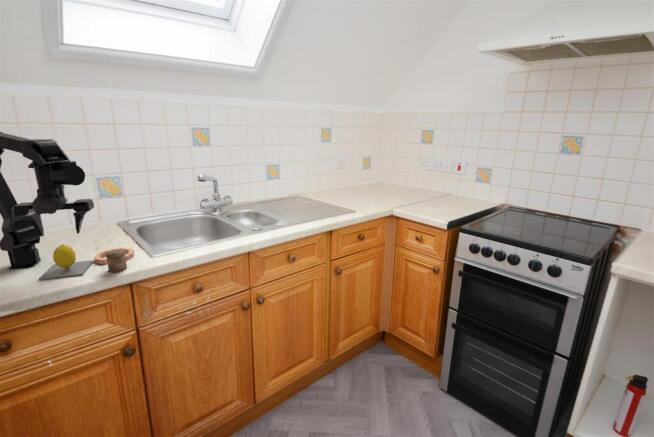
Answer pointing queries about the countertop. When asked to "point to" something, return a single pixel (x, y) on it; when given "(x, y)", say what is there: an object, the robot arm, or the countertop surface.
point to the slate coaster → (66, 270)
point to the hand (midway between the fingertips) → (60, 234)
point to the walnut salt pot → (116, 260)
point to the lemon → (64, 256)
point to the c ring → (99, 256)
